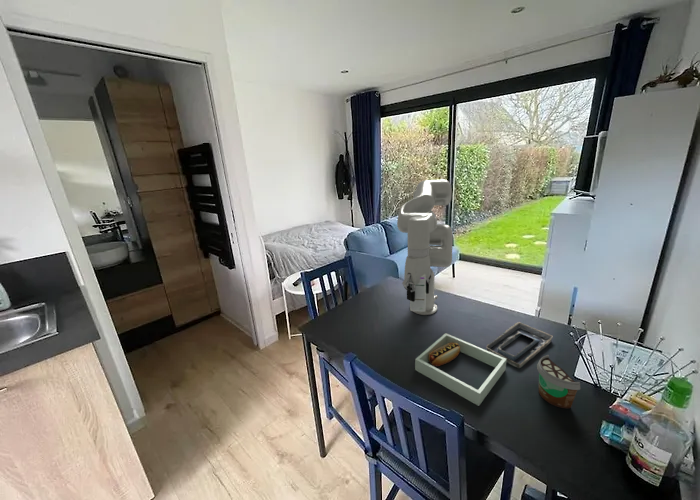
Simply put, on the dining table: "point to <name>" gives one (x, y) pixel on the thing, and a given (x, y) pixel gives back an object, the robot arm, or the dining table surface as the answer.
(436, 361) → the hot dog
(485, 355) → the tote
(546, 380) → the food container
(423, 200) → the robot arm
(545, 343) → the picture frame
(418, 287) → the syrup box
